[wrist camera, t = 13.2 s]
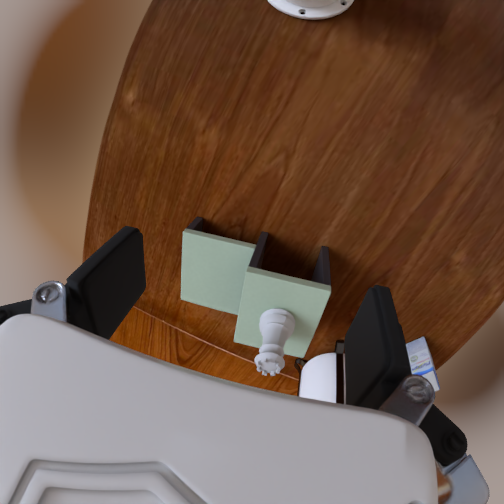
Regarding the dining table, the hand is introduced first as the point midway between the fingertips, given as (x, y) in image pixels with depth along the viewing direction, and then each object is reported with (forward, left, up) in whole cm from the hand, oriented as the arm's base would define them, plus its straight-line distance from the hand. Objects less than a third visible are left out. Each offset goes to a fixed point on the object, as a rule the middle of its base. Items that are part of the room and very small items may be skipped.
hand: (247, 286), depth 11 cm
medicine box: (+29, +33, -30) cm, 53 cm away
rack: (+18, -2, -29) cm, 34 cm away
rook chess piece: (+18, +3, -19) cm, 26 cm away
